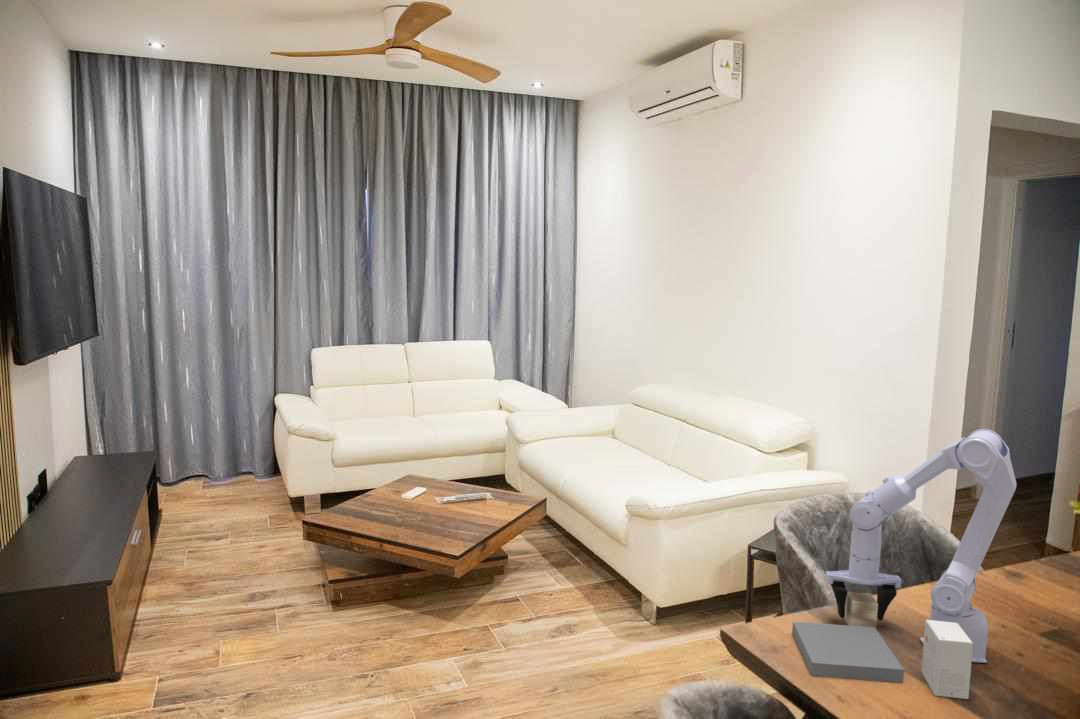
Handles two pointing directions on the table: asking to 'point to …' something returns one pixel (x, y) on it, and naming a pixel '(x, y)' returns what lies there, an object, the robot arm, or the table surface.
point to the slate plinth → (846, 652)
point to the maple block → (861, 610)
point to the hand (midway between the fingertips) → (860, 617)
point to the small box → (947, 659)
